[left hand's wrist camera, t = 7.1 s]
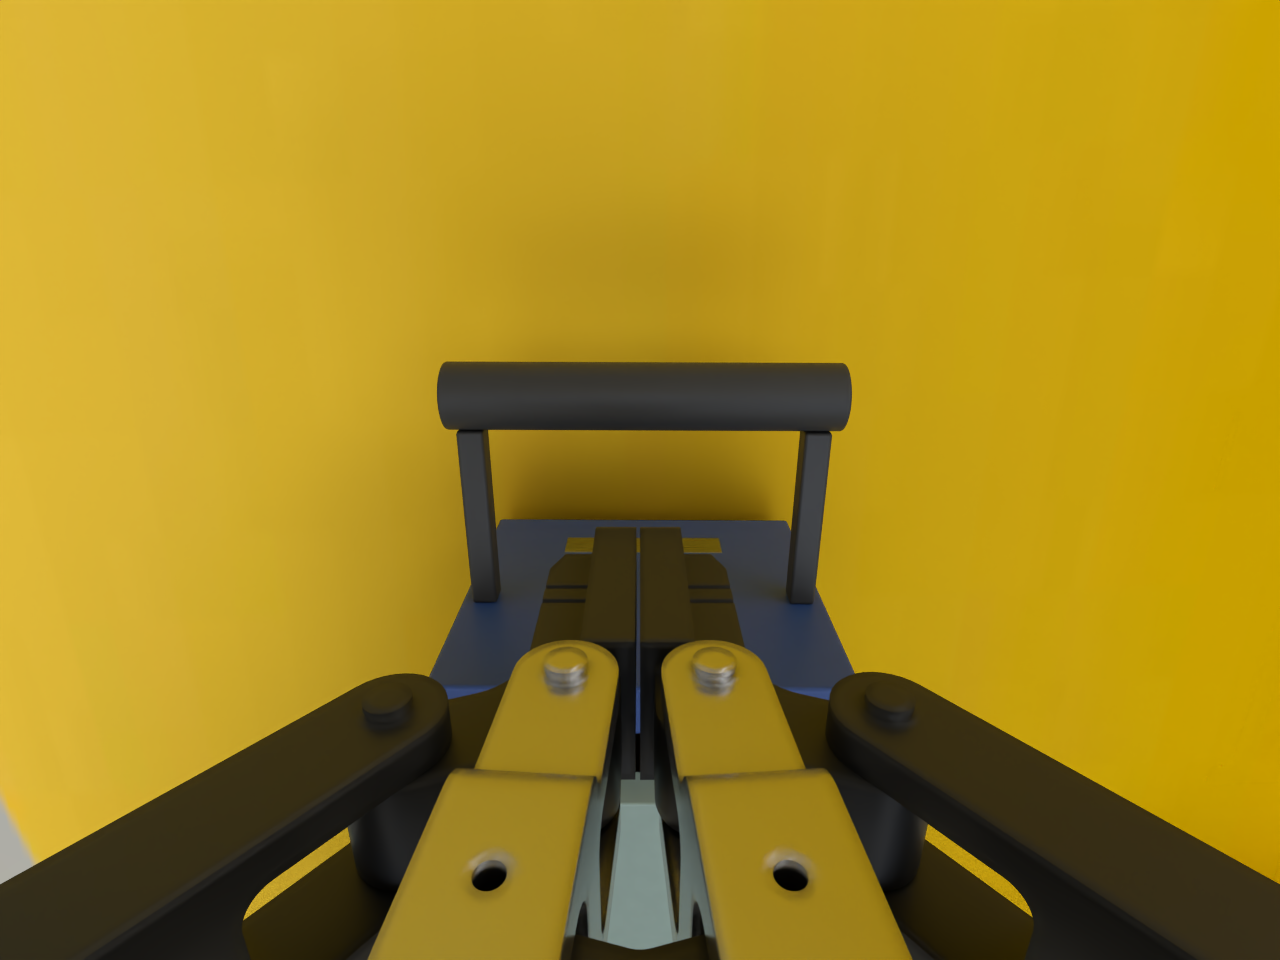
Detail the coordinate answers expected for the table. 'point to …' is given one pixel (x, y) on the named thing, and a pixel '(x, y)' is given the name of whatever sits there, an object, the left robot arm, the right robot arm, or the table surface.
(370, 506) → the table surface
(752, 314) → the table surface
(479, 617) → the drawer
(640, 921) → the cabinet
